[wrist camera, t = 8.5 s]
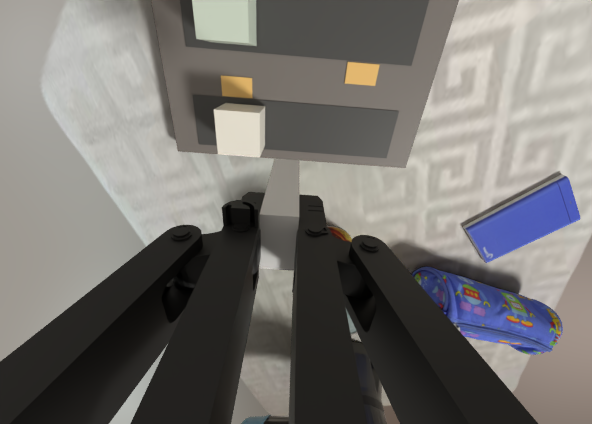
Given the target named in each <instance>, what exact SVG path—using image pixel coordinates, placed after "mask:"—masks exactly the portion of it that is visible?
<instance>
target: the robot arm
mask: <svg viewBox="0 0 592 424" xmlns="http://www.w3.org/2000/svg"><path fill="white" fill-rule="evenodd" d="M222 213H223V223H224V226H223V229H222V231H219V232H215V233H209V234H201V230H200V229H199V228H198V227H196V226H193V225H180V226H176V227H173V228H171V229H169V230H167V231H166V232H165V233H163V234H162V235H161V236H159V237H158V238H157V239H156V240H154V241H153V242H152V243H151V244H149V245H148V246H147V247H145V248H144V249H143V250H142V251H141V252H139V253H138V254H137V255H136V256H134V257H133V258H132V259H130V260H129V261H128V262H127V263H125V264H124V265H123V266H121V267H120V268H119V269H118V270H116V271H115V272H114V273H112V274H111V275H110V276H109V277H108V278H106V279H105V280H104V281H102V282H101V283H100V284H98V285H97V286H96V287H95V288H93V289H92V290H91V291H90V292H88V293H87V294H86V295H85V296H84V297H82V298H81V299H80V300H78V301H77V302H76V303H74V304H73V305H72V306H71V307H69V308H68V309H67V310H65V311H64V312H63V313H62V314H60V315H59V316H58V317H57V318H55V319H54V320H53V321H51V322H50V323H49V324H48V325H46V326H45V327H44V328H43V329H41V330H40V331H39V332H38V333H36V334H35V335H34V336H33V337H31V338H30V339H29V340H27V341H26V342H25V343H24V344H22V345H21V346H20V347H18V348H17V349H16V350H15V351H13V352H12V353H11V354H10V355H8V356H7V357H6V358H4V359H3V360H2V361H1V362H0V424H109V423H110V421H111V420H112V418H113V417H114V416H115V415H116V413H117V412H118V410H119V409H120V408H121V406H122V405H123V404H124V402H125V401H126V400H127V398H128V397H129V395H130V394H131V393H132V391H133V390H134V389H135V387H136V386H137V385H138V383H139V382H140V381H141V379H142V378H143V377H144V375H145V374H146V372H147V371H148V370H149V368H150V367H151V365H152V364H153V363H154V362H155V360H156V359H157V358H158V356H159V355H160V354H161V352H162V351H163V349H164V348H165V347H166V345H167V344H168V345H167V347H166V350H165V352H164V354H163V356H162V358H161V360H160V362H159V365H158V367H157V369H156V371H155V373H154V375H153V377H152V379H151V382H150V384H149V386H148V388H147V390H146V392H145V394H144V396H143V398H142V401H141V403H140V405H139V407H138V409H137V411H136V413H135V416H134V417H133V420H132V422H131V424H231V420H232V414H233V410H234V404H235V399H236V394H237V389H238V383H239V378H240V373H241V368H242V362H243V357H244V352H245V347H246V341H247V336H248V331H249V326H250V320H251V315H252V310H253V304H254V299H255V294H256V289H257V283H258V278H259V264H260V268H262V269H279V270H294V278H293V290H292V292H293V307H292V338H291V368H290V399H289V417H277V416H271V415H267V416H261V417H249V418H247V419H245V420H244V421H243V422H242V424H387V422H386V418H385V415H384V410H383V406H382V401H381V393H382V386H383V388H384V390H385V392H386V394H387V397H388V399H389V401H390V403H391V405H392V407H393V409H394V411H395V414H396V416H397V418H398V420H399V422H400V424H538V423H537V422H536V421H535V419H534V418H533V417H532V416H531V415H530V414H529V412H528V411H527V410H526V409H525V408H524V406H523V405H522V404H521V403H520V402H519V401H518V399H517V398H516V397H515V396H514V395H513V394H512V392H511V391H510V390H509V389H508V388H507V386H506V385H505V384H504V383H503V382H502V381H501V379H500V378H499V377H498V376H497V375H496V374H495V372H494V371H493V370H492V369H491V368H490V366H489V365H488V364H487V363H486V362H485V361H484V359H483V358H482V357H481V356H480V355H479V354H478V352H477V351H476V350H475V349H474V348H473V346H472V345H471V344H470V343H469V342H468V341H467V339H466V338H465V337H464V336H463V335H462V334H461V332H460V331H459V330H458V329H457V328H456V326H455V325H454V324H453V323H452V322H451V321H450V319H449V318H448V317H447V316H446V315H445V314H444V312H443V311H442V310H441V309H440V308H439V306H438V305H437V304H436V303H435V302H434V301H433V299H432V298H431V297H430V296H429V295H428V294H427V292H426V291H425V290H424V289H423V288H422V287H421V285H420V284H419V283H418V282H417V281H416V279H415V278H414V277H413V276H412V275H411V274H410V272H409V271H408V270H407V269H406V268H405V267H404V265H403V264H402V263H401V262H400V261H399V259H398V258H397V257H396V256H395V255H394V254H393V252H392V251H391V250H390V249H389V248H388V247H387V245H386V244H385V243H384V242H382V241H381V240H380V239H377V238H375V237H373V236H368V235H360V236H356V237H354V238H353V239H352V242H347V241H343V240H340V239H338V238H336V237H334V236H333V235H332V233H331V231H330V229H329V228H328V227H327V225H326V219H325V213H324V207H323V202H322V200H321V199H320V198H319V197H318V196H311V195H299V160H290V159H274V163H273V166H272V170H271V174H270V177H269V181H268V185H267V188H266V192H265V193H255V192H248V193H247V194H246V195H244V196H243V197H242V200H236V201H231V202H228V203H226V204H225V205H224V206H223V207H222ZM346 309H347V311H348V314H349V316H350V318H351V320H352V322H353V324H354V326H355V328H356V331H357V333H358V335H359V337H360V339H361V341H362V343H363V344H362V343H358V342H352V339H351V334H350V328H349V323H348V318H347V312H346Z"/></svg>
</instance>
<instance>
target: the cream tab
mask: <svg viewBox="0 0 592 424" xmlns="http://www.w3.org/2000/svg"><path fill="white" fill-rule="evenodd" d="M214 118H215V129H216V140H217V150H218V154H221V155H234V156H248V157H260V156H261V154H262V151H263V149H264V146H265V106H257V105H244V104H232V103H225V104H223V105H221V106H219V107H217V108H216V109H214Z"/></svg>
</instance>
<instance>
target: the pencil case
mask: <svg viewBox="0 0 592 424" xmlns="http://www.w3.org/2000/svg"><path fill="white" fill-rule="evenodd" d="M412 276H413V277H414V278H415V279H416V281H417V282H418V283H419V284H420V285H421V287H422V288H423V289H424V290H425V291H426V292H427V294H428V295H429V296H430V297H431V298H432V299H433V301H434V302H435V303H436V304H437V305H438V306H439V308H440V309H441V310H442V311H443V312H444V314H445V315H446V316H447V317H448V318H449V319H450V321H451V322H452V323H453V324H454V325H455V326H456V328H457V329H458V330H459V331H460V332H461V334H462V335H463V336H465V337H470V338H474V339H478V340H484V341H490V342H495V343H501V344H508V345H510V346H511V347H513V348H514V349H516V350H518V351H520V352H522V353H525V354H530V355H536V354H542V353H544V352H546V351H548V352H550V351H552V348H553V346H554V345H556V344H557V341H558V340H559V338H560V337H561V335H562V331H563V327H562V322H561V320H560V318H559V316H558V315H557V314H556V313H555V312H554V311H553V310H552V309H551V308H550V307H548V306H547V305H545V304H543V303H541V302H539V301H537V300H534V299H529V298H527V297H525V296H522V295H519V294H516V293H513V292H509V291H506V290H502V289H498V288H495V287H492V286H489V285H486V284H483V283H480V282H477V281H474V280H471V279H469V278H466V277H463V276H459V275H455V274H451V273H447V272H443V271H439V270H437V269H435V268H432V267H421V268H419V269H417V270H415V271H414V272H413V274H412Z"/></svg>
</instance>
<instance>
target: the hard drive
mask: <svg viewBox="0 0 592 424" xmlns="http://www.w3.org/2000/svg"><path fill="white" fill-rule="evenodd" d="M578 220H580V215H579V211H578V208H577V205H576V201H575V198H574V195H573V191H572V188H571V184H570V181H569V179H568V177H566V176H564V175H562V174H561V175H559V176H557V177H555V178H553V179H552V180H550V181H548V182H546V183H544V184H542V185H540V186H538V187H536V188H534V189H532V190H531V191H529V192H527V193H525V194H523V195H521V196H519V197H517V198H515V199H514V200H512V201H510V202H508V203H506V204H504V205H502V206H500V207H498V208H497V209H495V210H493V211H491V212H489V213H487V214H485V215H483V216H481V217H480V218H478V219H476V220H474V221H472V222H470V223H468V224H466V225H464V226H463V228H464V229H465V231H466V233H467V234H468V236H469V238H470V239H471V241H472V243H473V244H474V246H475V248H476V249H477V251H478V253H479V254H480V256H481V258H482V259H483V260H484V262H486V263H487V262H490V261H492V260H494V259H496V258H498V257H500V256H503V255H505V254H507V253H509V252H511V251H513V250H515V249H517V248H520V247H522V246H524V245H526V244H528V243H530V242H533V241H535V240H537V239H539V238H541V237H543V236H546V235H548V234H550V233H552V232H554V231H556V230H558V229H560V228H563V227H565V226H567V225H569V224H571V223H573V222H576V221H578Z"/></svg>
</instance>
